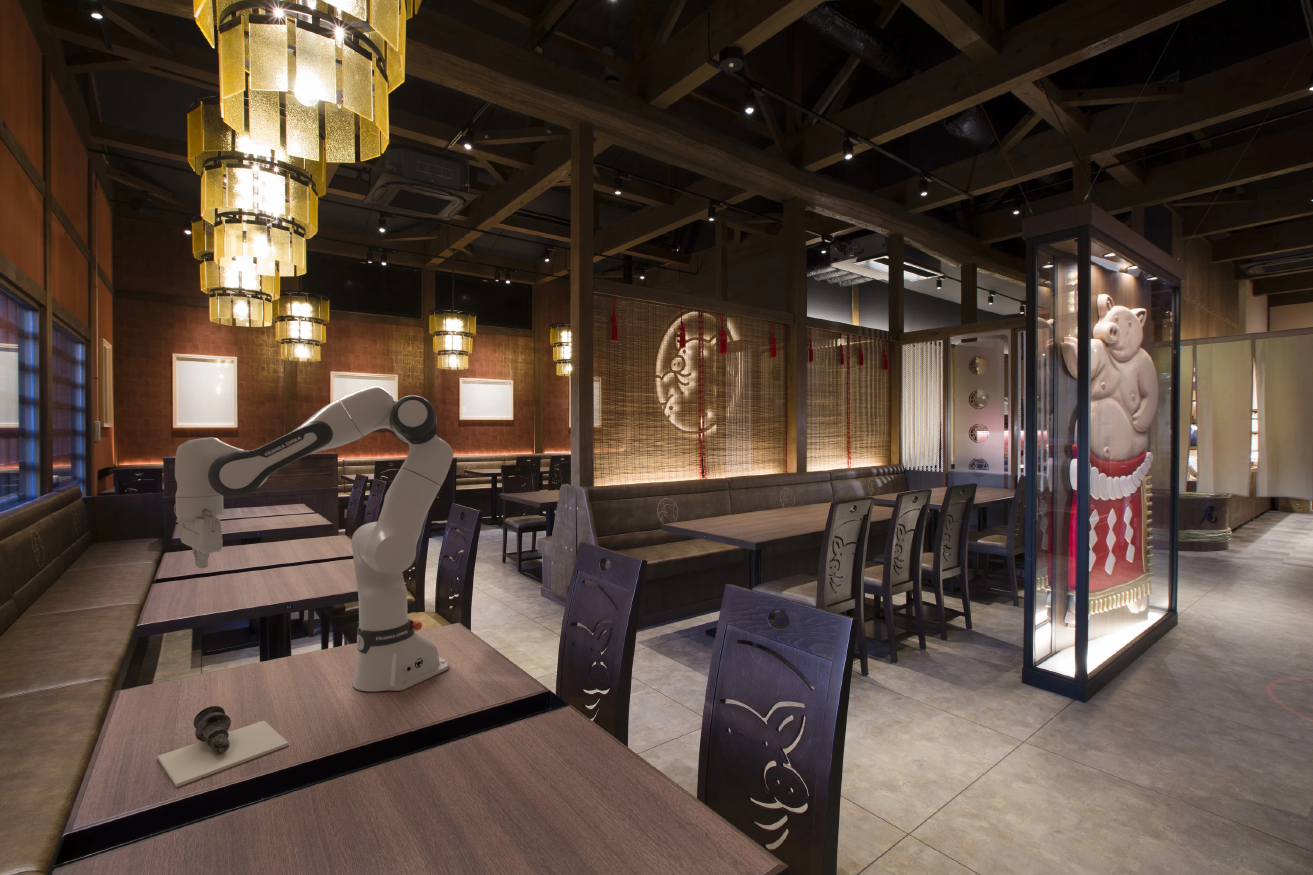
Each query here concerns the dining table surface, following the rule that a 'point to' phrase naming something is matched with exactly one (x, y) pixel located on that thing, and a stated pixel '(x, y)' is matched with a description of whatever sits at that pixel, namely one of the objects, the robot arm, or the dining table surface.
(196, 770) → the placemat
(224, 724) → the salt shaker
